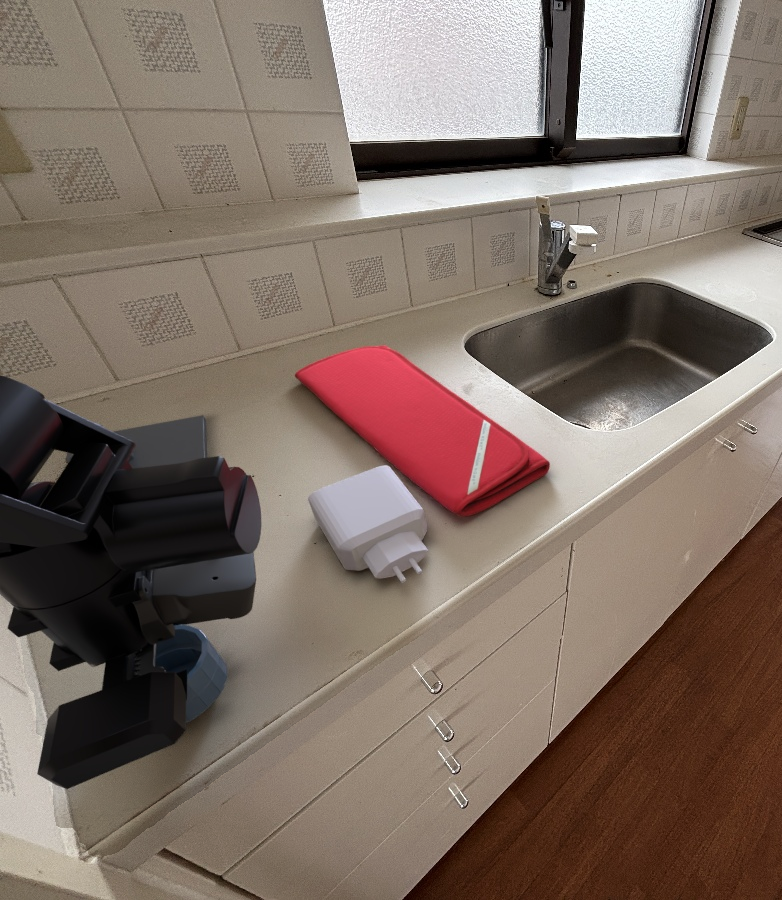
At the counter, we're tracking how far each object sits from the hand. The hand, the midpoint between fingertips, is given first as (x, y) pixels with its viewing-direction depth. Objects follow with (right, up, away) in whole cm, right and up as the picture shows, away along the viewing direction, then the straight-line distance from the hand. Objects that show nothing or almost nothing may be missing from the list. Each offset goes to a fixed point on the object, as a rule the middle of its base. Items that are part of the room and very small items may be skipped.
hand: (177, 685), depth 41 cm
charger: (+10, +8, +15) cm, 20 cm away
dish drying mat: (+8, +23, +32) cm, 40 cm away
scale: (-22, +18, +21) cm, 35 cm away
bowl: (0, -1, +1) cm, 1 cm away
